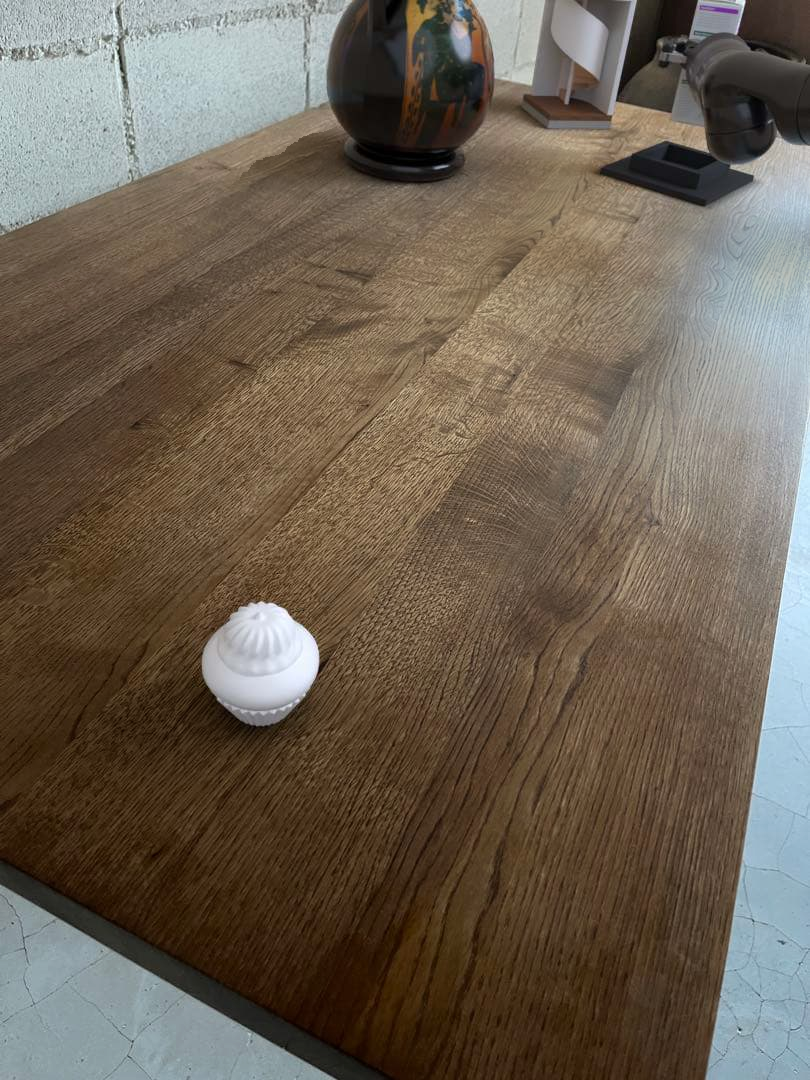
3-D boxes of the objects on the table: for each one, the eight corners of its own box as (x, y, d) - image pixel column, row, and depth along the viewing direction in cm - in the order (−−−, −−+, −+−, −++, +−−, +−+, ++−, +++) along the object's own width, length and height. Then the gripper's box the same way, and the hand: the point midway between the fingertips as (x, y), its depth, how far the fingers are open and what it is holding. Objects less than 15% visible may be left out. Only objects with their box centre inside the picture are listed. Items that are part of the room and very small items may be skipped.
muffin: (238, 767, 47) (233, 675, 43) (185, 690, 51) (175, 597, 46) (339, 717, 50) (345, 626, 46) (283, 647, 54) (282, 557, 49)
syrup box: (711, 129, 122) (747, 4, 112) (667, 121, 123) (698, -4, 114) (714, 119, 126) (748, -2, 117) (671, 111, 127) (701, -9, 118)
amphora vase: (432, 205, 113) (459, -66, 95) (291, 163, 120) (291, -95, 103) (510, 165, 127) (546, -76, 110) (379, 130, 135) (394, -101, 117)
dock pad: (752, 181, 131) (759, 160, 129) (705, 206, 121) (711, 184, 119) (652, 151, 138) (657, 132, 136) (599, 173, 128) (604, 152, 126)
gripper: (795, 47, 105) (772, 21, 118) (669, 30, 106) (660, 7, 119) (773, 116, 110) (754, 85, 123) (652, 100, 111) (646, 71, 124)
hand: (708, 47), depth 121 cm, fingers closed on syrup box, 6 cm apart
